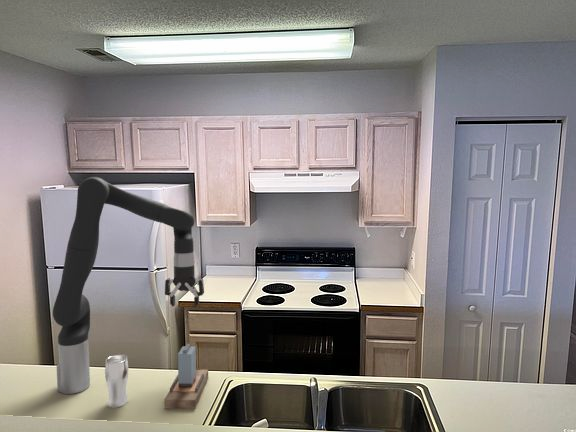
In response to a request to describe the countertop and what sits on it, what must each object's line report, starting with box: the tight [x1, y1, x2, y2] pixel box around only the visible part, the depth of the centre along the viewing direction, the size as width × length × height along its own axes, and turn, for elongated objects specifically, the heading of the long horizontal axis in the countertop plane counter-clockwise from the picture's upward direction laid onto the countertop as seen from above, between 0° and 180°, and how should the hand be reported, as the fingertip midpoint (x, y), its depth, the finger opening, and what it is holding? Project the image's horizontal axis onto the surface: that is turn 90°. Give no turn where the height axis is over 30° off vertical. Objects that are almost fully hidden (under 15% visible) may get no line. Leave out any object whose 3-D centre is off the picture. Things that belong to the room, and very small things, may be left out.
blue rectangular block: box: [177, 343, 197, 387], centre depth 134 cm, size 4×6×13 cm
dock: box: [164, 369, 209, 410], centre depth 135 cm, size 10×20×4 cm, turn 0°
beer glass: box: [104, 354, 129, 409], centre depth 128 cm, size 7×7×15 cm
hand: (184, 305), depth 147 cm, fingers open, 8 cm apart
